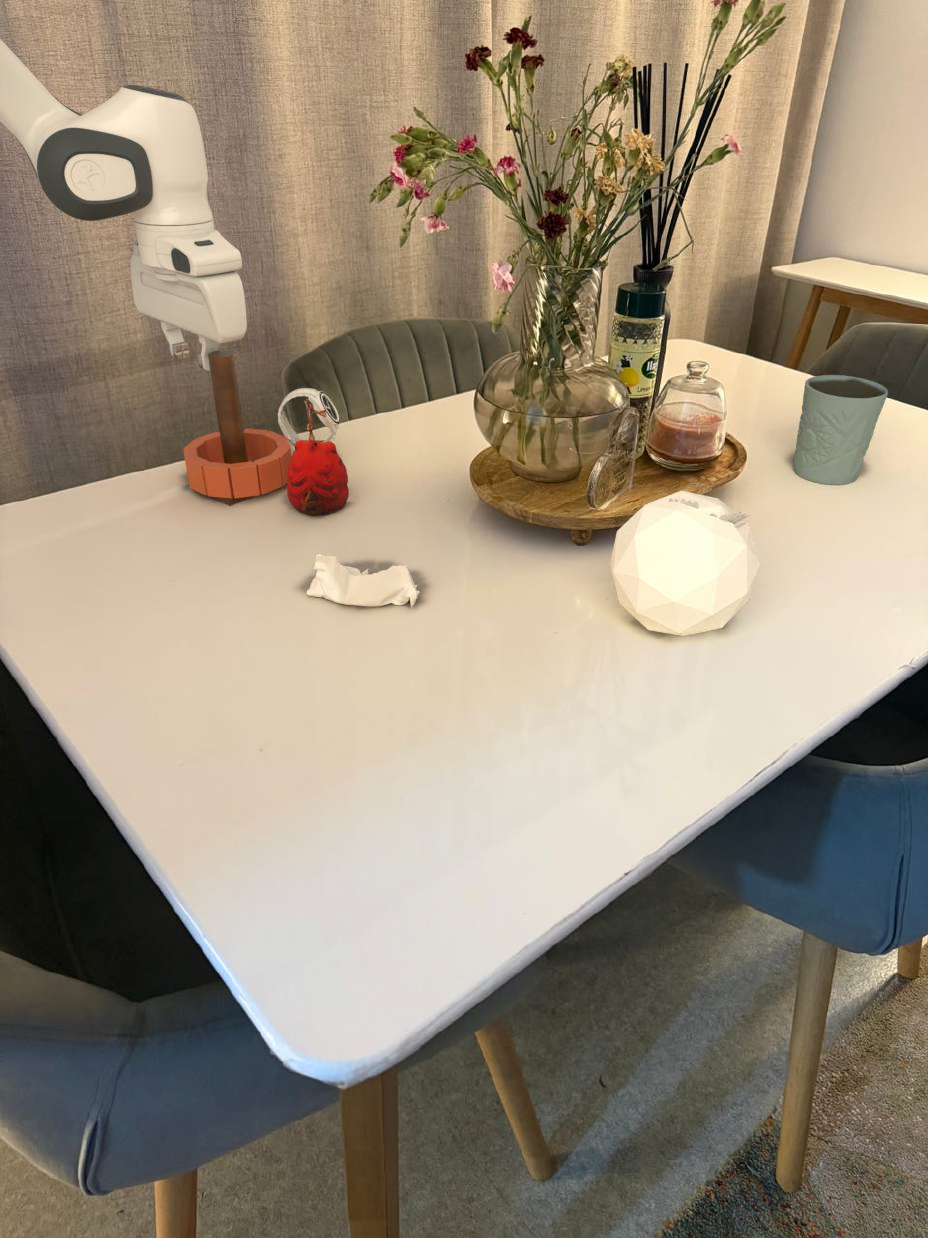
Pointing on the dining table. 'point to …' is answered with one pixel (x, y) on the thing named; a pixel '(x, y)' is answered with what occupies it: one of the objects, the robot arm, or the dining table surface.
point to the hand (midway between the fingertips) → (194, 363)
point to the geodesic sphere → (684, 564)
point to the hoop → (238, 465)
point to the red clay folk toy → (316, 474)
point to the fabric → (362, 584)
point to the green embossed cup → (836, 427)
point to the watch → (319, 403)
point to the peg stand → (228, 411)
